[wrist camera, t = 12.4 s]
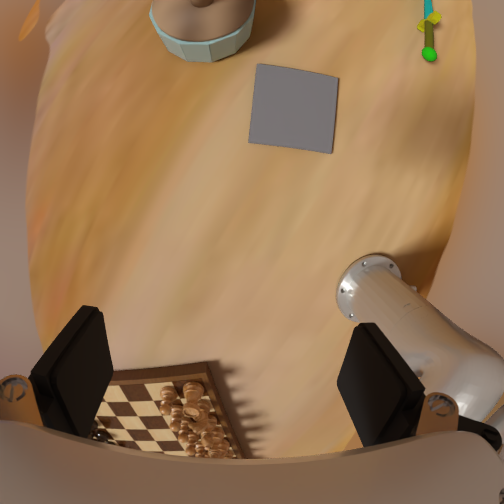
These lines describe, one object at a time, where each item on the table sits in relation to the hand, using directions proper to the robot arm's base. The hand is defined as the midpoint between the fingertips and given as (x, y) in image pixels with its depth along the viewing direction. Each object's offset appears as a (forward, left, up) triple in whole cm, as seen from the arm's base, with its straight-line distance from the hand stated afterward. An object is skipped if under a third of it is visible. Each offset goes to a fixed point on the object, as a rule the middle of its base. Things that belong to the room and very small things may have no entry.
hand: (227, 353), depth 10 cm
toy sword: (-31, -43, -34) cm, 63 cm away
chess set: (+16, +53, -34) cm, 65 cm away
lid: (+6, -27, -25) cm, 37 cm away
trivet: (-8, -15, -33) cm, 37 cm away
